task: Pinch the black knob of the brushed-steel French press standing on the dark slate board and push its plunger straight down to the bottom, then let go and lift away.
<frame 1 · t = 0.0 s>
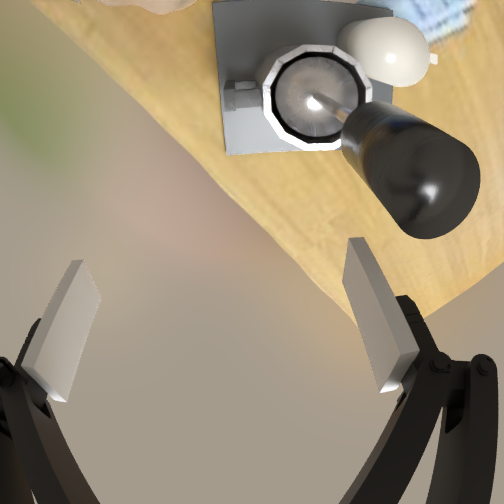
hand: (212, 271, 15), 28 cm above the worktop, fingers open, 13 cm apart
slate board: (309, 74, 33), on the worktop
press carafe: (295, 83, 33), resting on slate board
cream mug: (365, 48, 30), point 1 cm above the worktop, touching slate board
plunger: (353, 120, 17), point 21 cm above the worktop, slide at 0.0 cm
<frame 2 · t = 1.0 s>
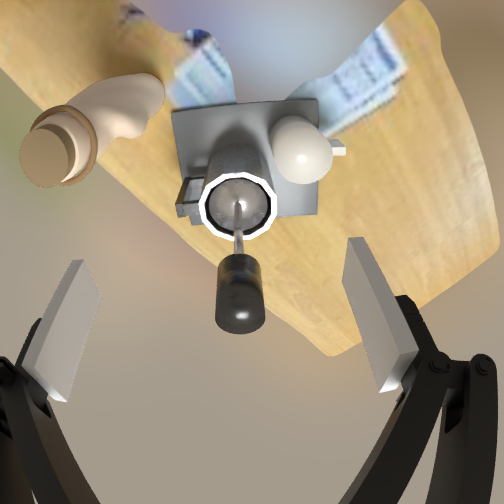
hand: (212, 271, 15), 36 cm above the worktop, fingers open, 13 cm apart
slate board: (249, 163, 49), on the worktop
press carafe: (237, 172, 49), resting on slate board
cream mug: (293, 138, 46), point 1 cm above the worktop, touching slate board
water bottle: (138, 99, 42), on the worktop
plunger: (238, 247, 33), point 21 cm above the worktop, slide at -0.1 cm
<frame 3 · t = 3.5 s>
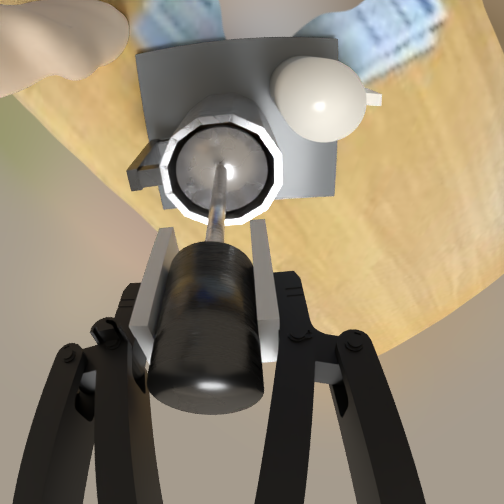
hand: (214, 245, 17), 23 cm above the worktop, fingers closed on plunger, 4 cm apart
slate board: (242, 122, 34), on the worktop
press carafe: (225, 134, 34), resting on slate board
cream mug: (303, 87, 31), point 1 cm above the worktop, touching slate board
water bottle: (96, 42, 26), on the worktop
plunger: (215, 232, 18), point 21 cm above the worktop, slide at 0.0 cm, touching gripper
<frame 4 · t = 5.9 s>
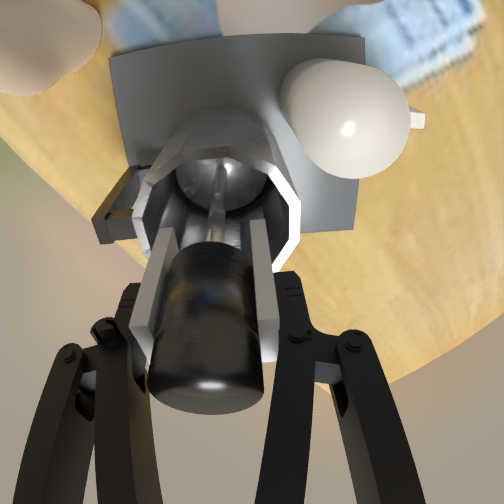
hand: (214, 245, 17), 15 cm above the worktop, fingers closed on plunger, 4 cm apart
slate board: (244, 141, 28), on the worktop
press carafe: (223, 156, 27), resting on slate board
cream mug: (321, 98, 24), point 1 cm above the worktop, touching slate board
water bottle: (63, 44, 20), on the worktop
plunger: (215, 232, 18), point 13 cm above the worktop, slide at 7.9 cm, touching gripper
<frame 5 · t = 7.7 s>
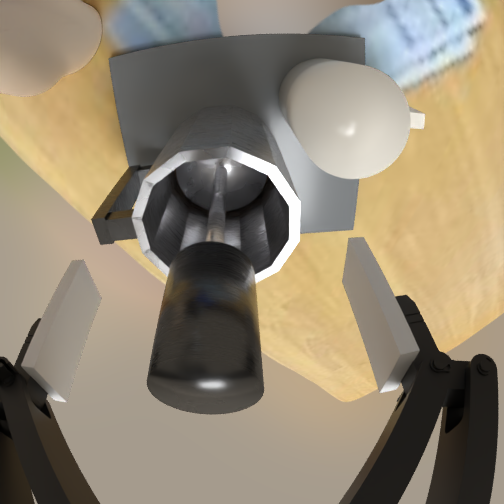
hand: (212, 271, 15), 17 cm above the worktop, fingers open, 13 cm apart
slate board: (244, 141, 28), on the worktop
press carafe: (223, 157, 27), resting on slate board
cream mug: (321, 99, 24), point 1 cm above the worktop, touching slate board
water bottle: (63, 44, 20), on the worktop
plunger: (215, 232, 18), point 13 cm above the worktop, slide at 7.9 cm
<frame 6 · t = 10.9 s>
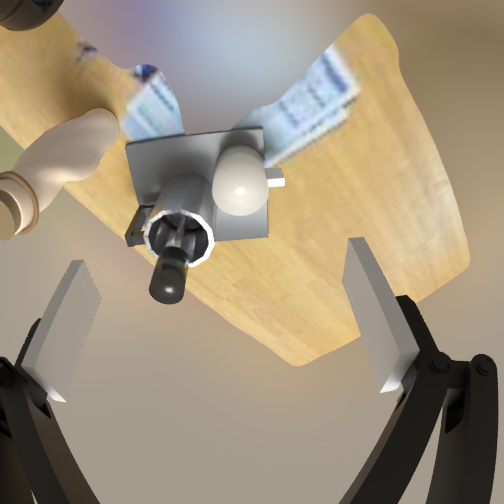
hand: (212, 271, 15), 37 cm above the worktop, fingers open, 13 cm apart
slate board: (200, 190, 52), on the worktop
press carafe: (188, 199, 52), resting on slate board
cream mug: (239, 166, 49), point 1 cm above the worktop, touching slate board
water bottle: (96, 133, 44), on the worktop
plunger: (177, 242, 42), point 13 cm above the worktop, slide at 7.9 cm
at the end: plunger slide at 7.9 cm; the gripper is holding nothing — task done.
